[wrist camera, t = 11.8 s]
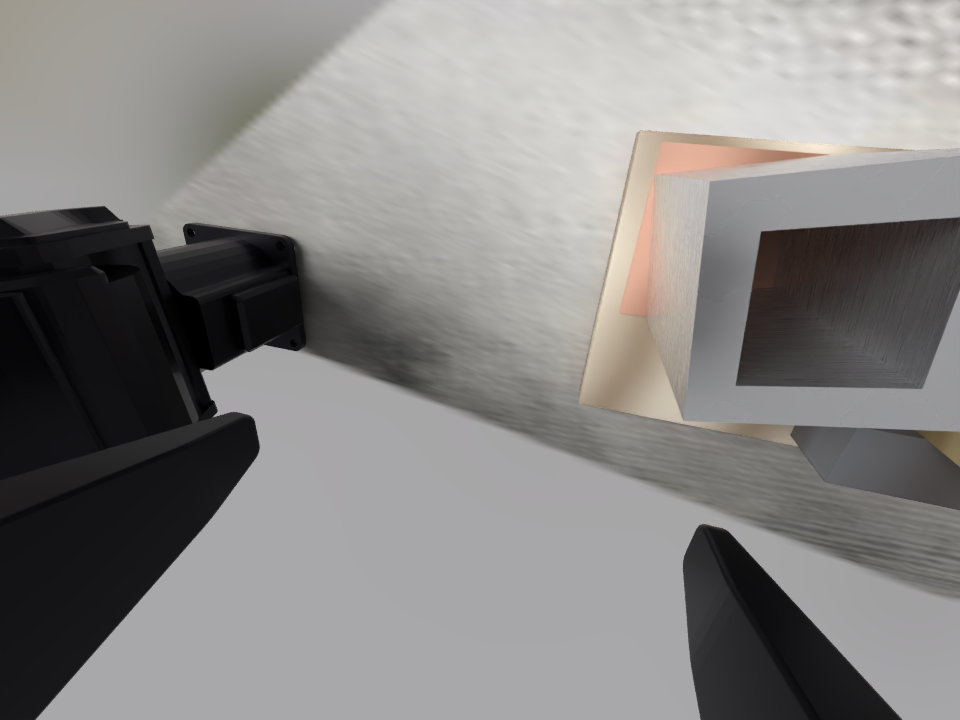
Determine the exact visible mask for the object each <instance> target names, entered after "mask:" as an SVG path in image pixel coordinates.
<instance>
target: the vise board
mask: <svg viewBox="0 0 960 720" xmlns="http://www.w3.org/2000/svg"><path fill="white" fill-rule="evenodd" d="M894 151H915V150H902V149H888V148H875V147H861V146H848V145H834V144H820V143H807V142H793V141H779V140H766V139H752V138H739V137H725V136H711V135H698V134H684V133H671V132H657V131H643V130H640V131H639V132H638V133H637V134H636V138H635V143H634V147H633V152H632V156H631V161H630V165H629V170H628V174H627V179H626V183H625V188H624V192H623V197H622V201H621V206H620V210H619V215H618V219H617V224H616V228H615V233H614V237H613V242H612V246H611V251H610V255H609V260H608V264H607V268H606V273H605V277H604V282H603V286H602V291H601V295H600V300H599V304H598V309H597V313H596V318H595V322H594V327H593V331H592V336H591V340H590V345H589V349H588V354H587V358H586V363H585V367H584V372H583V376H582V381H581V385H580V393H579V404H584V405H589V406H594V407H599V408H604V409H609V410H615V411H620V412H625V413H630V414H635V415H640V416H645V417H650V418H655V419H660V420H665V421H670V422H676V423H681V424H686V425H691V426H696V427H701V428H706V429H711V430H716V431H721V432H726V433H731V434H737V435H742V436H747V437H752V438H757V439H762V440H767V441H772V442H777V443H782V444H787V445H792V446H798V447H799V448H800V449H801V451H802V452H803V453H804V455H805V456H806V457H807V459H808V460H809V461H810V463H811V464H812V466H813V467H814V468H815V470H816V471H817V472H818V474H819V475H820V476H821V478H822V479H823V480H824V482H828V483H832V484H837V485H842V486H847V487H852V488H856V489H861V490H866V491H871V492H876V493H880V494H885V495H890V496H895V497H900V498H904V499H909V500H914V501H919V502H924V503H928V504H933V505H938V506H943V507H947V508H952V509H957V510H960V432H954V431H928V430H903V429H877V428H851V427H825V426H799V425H774V424H748V423H722V422H696V421H683V419H682V416H681V413H680V410H679V407H678V405H677V402H676V399H675V396H674V394H673V391H672V388H671V385H670V382H669V380H668V377H667V374H666V371H665V368H664V366H663V363H662V360H661V357H660V354H659V352H658V349H657V346H656V343H655V341H654V338H653V335H652V332H651V329H650V327H649V324H648V321H647V318H646V300H647V283H648V266H649V249H650V232H651V215H652V198H653V181H654V174H660V173H669V172H678V171H688V170H697V169H706V168H715V167H724V166H733V165H742V164H751V163H760V162H769V161H778V160H787V159H796V158H805V157H814V156H823V155H833V154H854V153H874V152H894ZM781 234H782V230H773V231H761V235H760V241H759V247H758V253H757V259H756V265H755V271H754V277H753V283H752V288H769V287H772V283H773V277H774V272H775V267H776V261H777V256H778V250H779V245H780V240H781Z"/></svg>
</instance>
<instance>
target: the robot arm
mask: <svg viewBox="0 0 960 720" xmlns="http://www.w3.org/2000/svg"><path fill="white" fill-rule="evenodd" d="M193 231H194V232H195V234H194V232H193ZM183 232H184V237H185V241H186V245H184V246H179V247H174V248H169V249H163V250H158V251H156V249H155V246H154V244H153V241H152V239H154V236H153V233H152V231H151V228H150V225H129V224H128V222H127V221H123V220H120V219H119V218H117V217H116V216H115V215H114V214H113V213H112V212H111V211H109V210H108V209H107V208H106V207H105V206H99V207H83V208H71V209H60V210H59V209H58V210H47V211H37V212H28V213H19V214H11V215H3V216H0V720H36V718H37V717H38V716H39V715H40V714H41V713H42V712H43V710H44V709H45V708H46V707H47V706H48V705H49V704H50V703H51V701H52V700H53V699H54V698H55V697H56V696H57V695H58V693H59V692H60V691H61V690H62V689H63V688H64V686H65V685H66V684H67V683H68V682H69V681H70V680H71V679H72V677H73V676H74V675H75V674H76V673H77V672H78V671H79V669H80V668H81V667H82V666H83V665H84V664H85V663H86V661H87V660H88V659H89V658H90V657H91V656H92V655H93V653H94V652H95V651H96V650H97V649H98V648H99V646H100V645H101V644H102V643H103V642H104V641H105V640H106V639H107V638H108V636H109V635H110V634H111V633H112V632H113V631H114V629H115V628H116V627H117V626H118V625H119V624H120V623H121V622H122V620H123V619H124V618H125V617H126V616H127V614H129V612H130V611H131V610H132V609H133V608H134V606H135V605H136V604H137V603H138V602H139V601H140V600H141V598H142V597H143V596H144V595H145V594H146V593H147V592H148V591H149V590H150V588H151V587H152V586H153V585H154V584H155V583H156V582H157V580H158V579H159V578H160V577H161V576H162V575H163V574H164V572H165V571H166V570H167V569H168V568H169V567H170V566H171V564H172V563H173V562H174V561H175V560H176V559H177V558H178V556H179V555H180V554H181V553H182V552H183V551H184V549H185V548H186V547H187V546H188V545H189V544H190V543H191V541H192V540H193V539H194V538H195V537H196V536H197V535H198V534H199V532H200V531H201V530H202V529H203V528H204V527H205V525H206V524H207V523H208V522H209V521H210V519H211V518H212V517H213V516H214V514H215V513H216V512H217V510H218V509H219V508H220V506H221V505H222V504H223V502H224V501H225V500H226V498H227V497H228V496H229V494H230V493H231V491H232V490H233V489H234V487H235V486H236V485H237V483H238V482H239V481H240V479H241V478H242V476H243V475H244V474H245V472H246V471H247V470H248V468H249V467H250V466H251V464H252V462H253V461H254V460H255V459H256V457H257V455H258V453H259V449H260V445H259V440H258V435H257V430H256V425H255V421H254V419H253V418H252V417H251V416H249V415H246V414H242V413H237V412H231V413H227V414H224V415H220V416H217V417H213V416H214V415H215V414H216V413H217V407H216V405H215V402H214V401H213V400H211V398H210V395H209V392H208V390H207V387H206V384H205V382H204V379H203V376H202V373H201V372H203V371H205V370H214V369H216V368H218V367H220V366H222V365H223V364H225V363H227V362H229V361H231V360H233V359H235V358H236V357H238V356H240V355H242V354H244V353H246V352H251V351H253V350H255V349H257V348H259V347H260V346H262V345H268V346H273V347H278V348H282V349H288V350H293V351H298V350H300V349H302V348H303V347H304V346H305V344H306V341H305V332H304V324H303V315H302V307H301V298H300V290H299V282H298V275H297V267H296V259H295V251H294V245H293V242H292V240H291V239H290V238H289V237H288V236H285V235H280V234H273V233H266V232H258V231H251V230H244V229H237V228H230V227H223V226H216V225H209V224H201V223H189V224H185V225H184V227H183ZM281 242H282V243H283V244H284V246H285V249H283V247H282V245H281ZM294 340H296V341H297V343H298V344H296V342H295V341H294ZM212 417H213V418H212ZM683 575H684V588H685V601H686V613H687V627H688V641H689V651H690V661H691V668H692V674H693V680H694V686H695V691H696V697H697V702H698V708H699V713H700V719H701V720H902V719H901V718H900V717H899V715H898V714H896V712H895V711H894V710H893V709H892V708H891V707H890V706H889V705H888V704H887V702H885V701H884V699H883V698H882V697H881V696H880V695H879V694H878V693H877V692H876V691H875V690H874V689H873V687H872V686H871V685H870V684H869V683H868V682H867V681H866V680H865V679H864V678H863V677H862V675H861V674H860V673H859V672H858V671H857V670H856V669H855V668H854V667H853V666H852V665H851V664H850V662H849V661H848V660H847V659H846V658H845V657H844V656H843V655H842V654H841V653H840V652H839V651H838V649H837V648H836V647H835V646H834V645H833V644H832V643H831V642H830V641H829V640H828V639H827V638H826V636H825V635H824V634H823V633H822V632H821V631H820V630H819V629H818V628H817V627H816V626H815V625H814V624H813V622H812V621H811V620H810V619H809V618H808V617H807V616H806V615H805V614H804V613H803V612H802V610H801V609H800V608H799V607H798V606H797V605H796V604H795V603H794V602H793V601H792V600H791V599H790V597H789V596H788V595H787V594H786V593H785V592H784V591H783V590H782V589H781V588H780V587H779V586H778V584H776V582H775V581H774V580H773V579H772V578H771V577H770V576H769V575H768V574H767V573H766V572H765V571H764V569H763V568H762V567H761V566H760V565H759V564H758V563H757V562H756V561H755V560H754V559H753V557H752V556H751V555H750V554H749V553H748V552H747V551H746V550H745V549H744V548H743V547H742V545H741V544H740V543H738V541H737V540H736V539H735V538H734V537H733V536H732V535H731V534H730V533H729V532H728V531H727V530H725V529H723V528H718V527H714V526H710V525H706V524H702V525H699V526H698V528H697V529H696V531H695V533H694V536H693V538H692V540H691V542H690V544H689V546H688V549H687V551H686V553H685V556H684V560H683Z"/></svg>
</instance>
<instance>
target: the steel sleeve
mask: <svg viewBox="0 0 960 720" xmlns="http://www.w3.org/2000/svg"><path fill="white" fill-rule="evenodd" d="M773 230H782V234H781V240H780V245H779V250H778V256H777V261H776V267H775V272H774V277H773V283H772V287H769V288H752V283H753V277H754V271H755V265H756V259H757V253H758V247H759V241H760V235H761V231H773ZM646 318H647V321H648V324H649V327H650V329H651V332H652V335H653V338H654V341H655V343H656V346H657V349H658V352H659V354H660V357H661V360H662V363H663V366H664V368H665V371H666V374H667V377H668V380H669V382H670V385H671V388H672V391H673V394H674V396H675V399H676V402H677V405H678V407H679V410H680V413H681V416H682V419H683V421H696V422H722V423H748V424H774V425H799V426H825V427H851V428H877V429H903V430H928V431H954V432H960V148H955V149H935V150H915V151H894V152H874V153H854V154H833V155H823V156H814V157H805V158H796V159H787V160H778V161H769V162H760V163H751V164H742V165H733V166H724V167H715V168H706V169H697V170H688V171H678V172H669V173H660V174H654V181H653V198H652V215H651V232H650V249H649V266H648V283H647V300H646Z"/></svg>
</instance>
